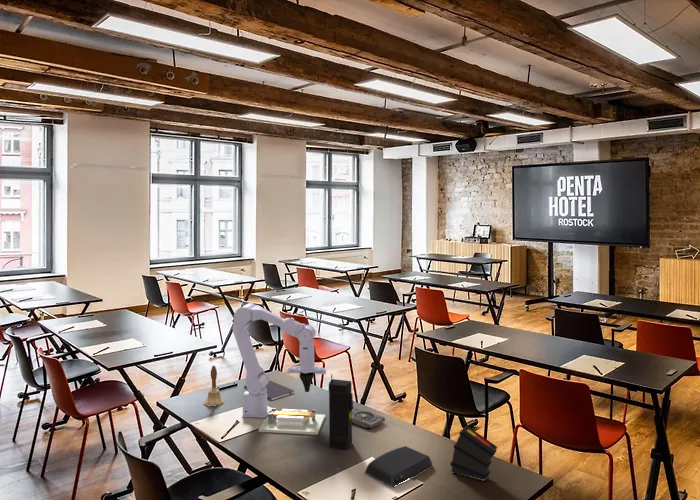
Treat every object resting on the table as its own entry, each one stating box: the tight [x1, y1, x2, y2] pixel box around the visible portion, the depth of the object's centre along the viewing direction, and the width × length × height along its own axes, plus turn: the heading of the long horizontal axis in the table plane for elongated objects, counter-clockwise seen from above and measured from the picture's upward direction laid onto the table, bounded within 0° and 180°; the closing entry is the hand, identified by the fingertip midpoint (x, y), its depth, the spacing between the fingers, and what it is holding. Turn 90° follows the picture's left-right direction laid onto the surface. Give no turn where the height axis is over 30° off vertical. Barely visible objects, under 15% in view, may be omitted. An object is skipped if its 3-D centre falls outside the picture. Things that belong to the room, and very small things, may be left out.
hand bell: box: [203, 365, 225, 407], centre depth 222 cm, size 8×8×16 cm
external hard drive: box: [364, 445, 433, 488], centre depth 167 cm, size 13×19×4 cm
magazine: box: [450, 425, 498, 479], centre depth 162 cm, size 4×13×15 cm, turn 59°
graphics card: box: [352, 404, 386, 429], centre depth 203 cm, size 17×4×12 cm
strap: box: [270, 409, 314, 417], centre depth 201 cm, size 17×3×1 cm, turn 83°
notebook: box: [243, 379, 295, 401], centre depth 237 cm, size 13×2×21 cm
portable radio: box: [328, 374, 354, 450], centre depth 183 cm, size 8×6×25 cm
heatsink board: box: [258, 407, 326, 436], centre depth 201 cm, size 22×16×5 cm
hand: (307, 391), depth 207 cm, fingers closed
